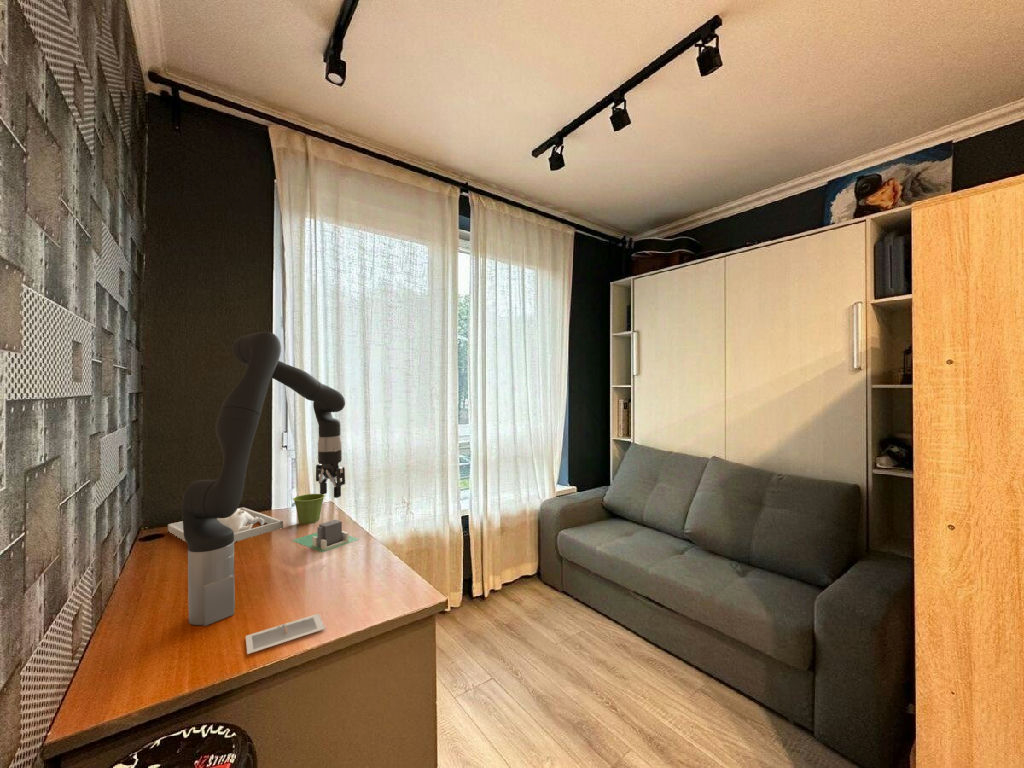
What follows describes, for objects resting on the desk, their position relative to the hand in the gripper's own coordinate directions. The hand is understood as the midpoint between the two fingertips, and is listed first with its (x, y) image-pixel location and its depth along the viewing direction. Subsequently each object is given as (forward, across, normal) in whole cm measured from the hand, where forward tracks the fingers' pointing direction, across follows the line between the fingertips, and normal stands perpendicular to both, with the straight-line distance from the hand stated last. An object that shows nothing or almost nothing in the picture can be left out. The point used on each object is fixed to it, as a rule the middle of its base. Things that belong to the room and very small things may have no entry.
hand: (330, 495), depth 143 cm
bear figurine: (+19, -46, -13) cm, 51 cm away
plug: (+17, 0, 0) cm, 17 cm away
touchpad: (+19, +39, -34) cm, 55 cm away
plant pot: (+18, -31, +10) cm, 37 cm away
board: (+18, -5, +1) cm, 19 cm away
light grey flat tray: (+18, -53, -12) cm, 57 cm away
